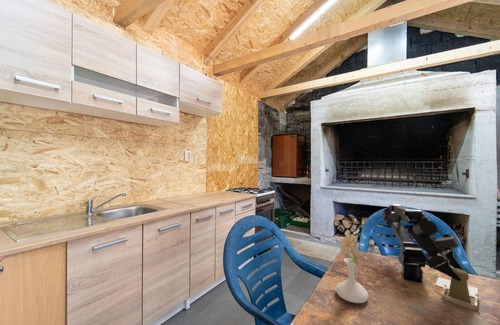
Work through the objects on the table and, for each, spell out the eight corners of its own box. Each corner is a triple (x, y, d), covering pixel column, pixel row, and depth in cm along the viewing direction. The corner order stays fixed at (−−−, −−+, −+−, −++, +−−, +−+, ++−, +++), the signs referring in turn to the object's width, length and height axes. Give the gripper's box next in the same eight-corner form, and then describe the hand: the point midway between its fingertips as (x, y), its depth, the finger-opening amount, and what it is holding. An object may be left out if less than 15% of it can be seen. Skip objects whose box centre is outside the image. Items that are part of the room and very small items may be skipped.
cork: (473, 306, 75) (473, 275, 75) (450, 301, 78) (450, 271, 78) (467, 297, 80) (467, 268, 80) (446, 292, 83) (445, 264, 83)
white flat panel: (477, 298, 79) (477, 298, 79) (435, 285, 88) (435, 284, 88) (477, 289, 85) (477, 288, 85) (438, 277, 94) (438, 276, 94)
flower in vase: (334, 286, 89) (333, 226, 89) (364, 290, 85) (363, 228, 86) (338, 306, 76) (337, 237, 76) (374, 312, 73) (372, 239, 73)
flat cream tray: (477, 310, 73) (477, 305, 73) (441, 298, 80) (441, 294, 80) (477, 299, 79) (477, 294, 79) (444, 288, 86) (444, 284, 86)
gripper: (437, 233, 77) (482, 275, 68) (445, 223, 89) (484, 258, 80) (410, 248, 82) (450, 289, 74) (421, 237, 95) (456, 270, 86)
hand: (461, 275), depth 78 cm, fingers open, 9 cm apart
